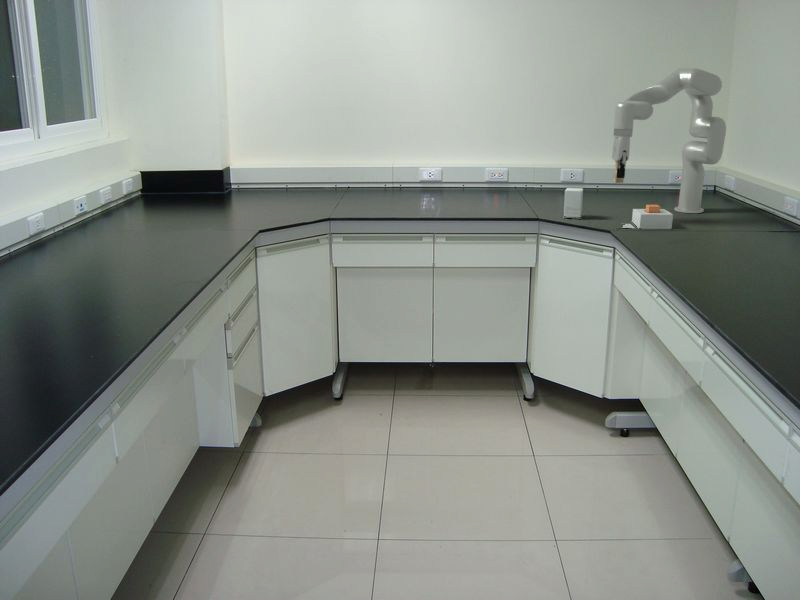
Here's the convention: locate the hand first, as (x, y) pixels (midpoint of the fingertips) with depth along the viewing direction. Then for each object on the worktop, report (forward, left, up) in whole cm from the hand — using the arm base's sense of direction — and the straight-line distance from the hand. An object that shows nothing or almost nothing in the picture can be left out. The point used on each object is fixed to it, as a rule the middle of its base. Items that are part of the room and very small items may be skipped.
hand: (619, 176), depth 310 cm
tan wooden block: (0, 0, -2) cm, 2 cm away
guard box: (+10, +12, -19) cm, 25 cm away
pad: (+13, 0, -19) cm, 23 cm away
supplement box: (-7, -17, -19) cm, 27 cm away
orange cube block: (+10, +12, -15) cm, 22 cm away
